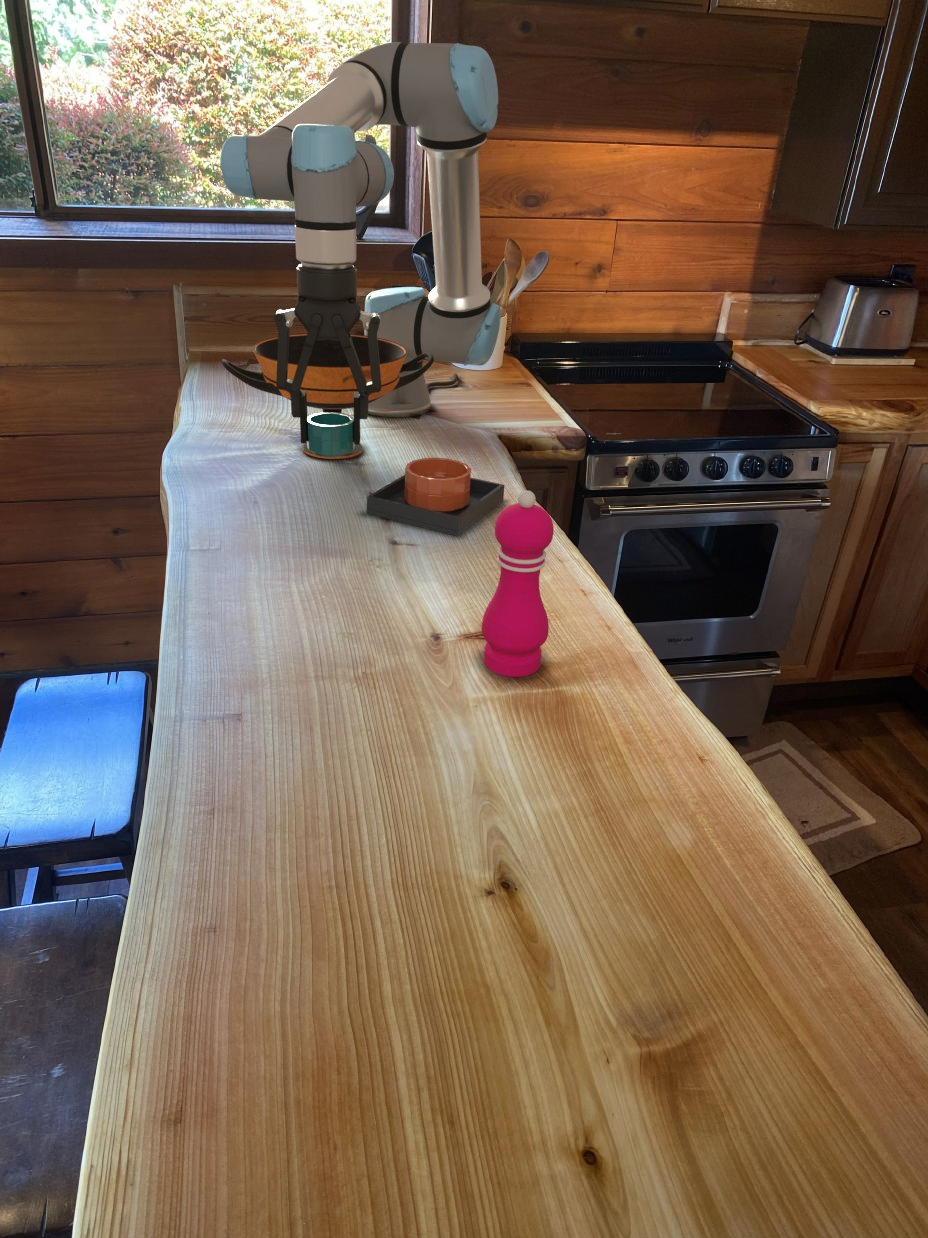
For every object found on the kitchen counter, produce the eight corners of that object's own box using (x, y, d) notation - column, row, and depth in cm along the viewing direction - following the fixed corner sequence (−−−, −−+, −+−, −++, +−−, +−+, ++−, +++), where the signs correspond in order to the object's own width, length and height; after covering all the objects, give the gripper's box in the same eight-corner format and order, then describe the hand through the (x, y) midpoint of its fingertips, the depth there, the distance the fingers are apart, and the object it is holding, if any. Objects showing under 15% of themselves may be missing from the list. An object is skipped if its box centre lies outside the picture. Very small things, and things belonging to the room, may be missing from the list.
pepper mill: (499, 686, 95) (514, 508, 85) (467, 653, 100) (478, 483, 91) (557, 672, 98) (578, 499, 88) (523, 640, 103) (539, 475, 94)
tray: (418, 482, 147) (418, 466, 146) (503, 501, 142) (504, 484, 140) (366, 514, 134) (366, 496, 133) (457, 536, 129) (458, 518, 127)
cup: (241, 482, 143) (233, 370, 134) (218, 434, 163) (210, 335, 155) (453, 465, 155) (458, 362, 147) (407, 423, 176) (409, 330, 167)
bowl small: (324, 440, 129) (323, 409, 127) (362, 448, 127) (362, 417, 125) (298, 452, 124) (297, 420, 122) (338, 461, 122) (337, 429, 119)
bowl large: (423, 486, 143) (425, 453, 140) (479, 499, 140) (481, 465, 137) (393, 506, 135) (393, 471, 133) (451, 519, 132) (453, 484, 129)
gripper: (403, 262, 117) (401, 433, 129) (252, 256, 116) (263, 430, 127) (404, 271, 111) (401, 451, 122) (243, 264, 109) (256, 447, 121)
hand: (331, 440), depth 125 cm, fingers closed on bowl small, 6 cm apart
